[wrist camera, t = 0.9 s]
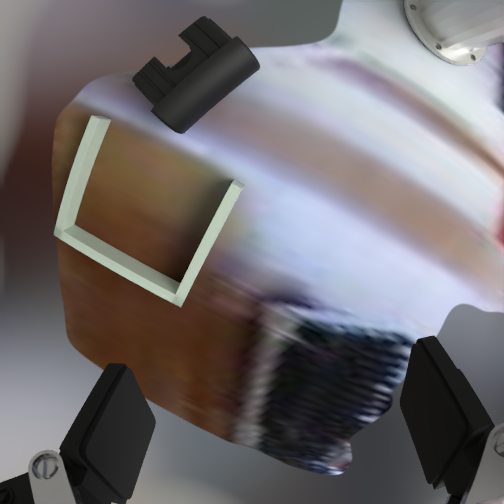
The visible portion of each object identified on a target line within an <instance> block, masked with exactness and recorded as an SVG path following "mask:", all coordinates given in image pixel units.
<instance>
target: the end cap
mask: <svg viewBox="0 0 504 504" xmlns="http://www.w3.org/2000/svg"><path fill="white" fill-rule="evenodd" d="M179 37H181V39H183V40H184V41H185V42H186V43H187V44H188V45H189V46H190V49H191V52H190V53H188V54H187V55H186V56H185V57H184V58H182V59H181V60H180V61H179V62H178V63H177V64H176V65H175V66H173V67H172V68H170V67H167V68H166V67H165V66H164V65H163V64H162V63H161V62H160V61H159V60H158V59H157V58H156V57H153V58H152V59H151V60H150V61H149V62H148V63H147V64H146V65H145V66H144V67H143V68H142V69H141V70H140V71H139V72H138V73H137V74H136V75H135V76H134V77H133V79H132V81H133V82H134V83H135V86H136V87H137V88H138V89H139V90H140V91H141V92H142V93H143V94H144V95H145V96H146V97H147V98H148V99H149V101H150V102H151V103H152V104H153V105H154V106H155V107H154V108H153V109H152V110H151V112H152V113H153V114H154V115H155V116H156V117H157V118H159V119H160V120H161V121H162V122H163V123H164V124H165V125H167V126H168V127H169V128H170V129H172V130H173V131H175V132H177V133H180V134H183V133H185V132H186V131H187V130H188V129H189V128H190V127H191V126H192V125H193V124H195V123H196V122H197V121H198V120H199V119H200V118H201V117H202V116H203V115H204V114H206V113H207V112H208V111H209V110H210V109H211V108H212V107H214V106H215V105H216V104H217V103H218V102H219V101H221V100H222V99H223V98H224V97H225V96H227V95H228V94H229V93H230V92H231V91H233V90H234V89H235V88H236V87H237V86H239V85H240V84H241V83H242V82H244V81H245V80H246V79H247V78H249V77H250V76H251V75H252V74H254V73H255V72H256V71H258V70H259V69H260V64H259V62H258V60H257V59H256V57H255V56H254V54H253V53H252V52H251V51H250V49H249V48H248V47H247V46H246V45H245V44H244V43H243V42H242V41H241V40H240V38H238V37H237V36H236V37H235V38H233V39H232V38H231V37H230V36H228V35H227V34H226V33H225V32H224V31H223V30H222V29H221V28H220V27H219V26H218V25H216V24H215V23H214V22H213V21H212V20H211V19H208V18H206V17H205V16H203V17H201V18H199V19H198V20H197V21H195V22H194V23H193V24H192V25H190V26H189V27H188V28H187V29H186V30H184V31H183V32H182V33H181V34H179Z"/></svg>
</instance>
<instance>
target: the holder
mask: <svg viewBox="0 0 504 504" xmlns="http://www.w3.org/2000/svg"><path fill="white" fill-rule="evenodd" d="M110 122H111V119H108V118H106V117H104V116H93V115H92V116H91V118H90V120H89V123H88V125H87V128H86V130H85V133H84V136H83V138H82V141H81V144H80V146H79V149H78V152H77V155H76V158H75V160H74V163H73V166H72V169H71V173H70V176H69V179H68V182H67V185H66V189H65V192H64V196H63V199H62V203H61V206H60V210H59V214H58V218H57V222H56V226H55V231H54V235H55V236H56V237H58V238H59V239H61V240H63V241H64V242H66V243H67V244H69V245H71V246H72V247H74V248H75V249H77V250H79V251H80V252H82V253H84V254H85V255H87V256H89V257H90V258H92V259H94V260H95V261H97V262H99V263H101V264H102V265H104V266H106V267H107V268H109V269H111V270H113V271H114V272H116V273H118V274H120V275H122V276H123V277H125V278H127V279H129V280H130V281H132V282H134V283H136V284H138V285H140V286H141V287H143V288H145V289H147V290H149V291H151V292H153V293H154V294H156V295H158V296H160V297H162V298H164V299H166V300H168V301H170V302H172V303H174V304H176V305H177V306H179V307H181V306H182V304H183V302H184V300H185V298H186V296H187V294H188V292H189V290H190V288H191V286H192V284H193V282H194V280H195V278H196V276H197V274H198V272H199V270H200V268H201V266H202V265H203V263H204V261H205V259H206V257H207V255H208V253H209V251H210V249H211V247H212V245H213V243H214V241H215V239H216V238H217V236H218V234H219V232H220V230H221V228H222V226H223V224H224V222H225V221H226V219H227V217H228V215H229V213H230V211H231V209H232V207H233V206H234V204H235V202H236V200H237V198H238V196H239V194H240V193H241V191H242V189H243V187H244V184H242V183H240V182H238V181H236V180H234V181H233V182H232V183H231V185H230V187H229V189H228V191H227V193H226V195H225V197H224V199H223V200H222V202H221V204H220V206H219V208H218V210H217V212H216V214H215V216H214V218H213V220H212V222H211V224H210V225H209V227H208V229H207V231H206V233H205V235H204V237H203V239H202V241H201V243H200V245H199V247H198V249H197V251H196V253H195V255H194V257H193V259H192V261H191V263H190V265H189V267H188V269H187V272H186V274H185V276H184V278H183V280H182V282H181V283H179V282H177V281H175V280H173V279H171V278H169V277H167V276H165V275H163V274H162V273H160V272H158V271H156V270H154V269H152V268H150V267H148V266H147V265H145V264H143V263H141V262H139V261H137V260H136V259H134V258H132V257H130V256H128V255H127V254H125V253H123V252H121V251H119V250H118V249H116V248H114V247H112V246H111V245H109V244H107V243H105V242H103V241H102V240H100V239H98V238H97V237H95V236H93V235H91V234H90V233H88V232H86V231H85V230H83V229H81V228H79V227H78V226H76V225H74V223H75V220H76V216H77V213H78V210H79V206H80V203H81V200H82V197H83V193H84V190H85V187H86V184H87V181H88V178H89V175H90V173H91V170H92V167H93V164H94V162H95V159H96V156H97V154H98V151H99V148H100V146H101V143H102V141H103V138H104V136H105V133H106V131H107V129H108V126H109V124H110Z"/></svg>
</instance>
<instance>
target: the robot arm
mask: <svg viewBox="0 0 504 504" xmlns="http://www.w3.org/2000/svg"><path fill="white" fill-rule="evenodd" d="M404 8H405V13H406V16H407V18H408V21H409V23H410V25H411V27H412V29H413V30H414V32H415V33H416V35H417V36H418V38H419V39H420V40H421V41H422V42H423V43H424V45H425V46H426V47H427V48H428V49H429V50H431V51H432V52H433V53H434V54H435V55H437V56H438V57H440V58H441V59H443V60H445V61H447V62H449V63H452V64H455V65H460V66H467V65H472V64H476V63H478V62H479V61H480V60H482V58H483V57H484V56H485V54H486V51H487V47H488V46H492V45H496V44H499V43H503V42H504V0H404ZM400 407H401V410H402V413H403V415H404V418H405V421H406V423H407V426H408V429H409V431H410V434H411V437H412V440H413V442H414V445H415V448H416V451H417V454H418V456H419V459H420V462H421V465H422V468H423V471H424V474H425V477H426V480H427V482H428V483H429V484H433V487H434V490H436V489H438V488H441V487H444V486H446V489H447V492H448V496H447V498H446V500H445V502H444V504H504V423H503V424H499V425H498V426H496V427H495V426H494V424H493V422H492V421H491V419H490V417H489V415H488V413H487V412H486V410H485V408H484V407H483V405H482V403H481V402H480V400H479V398H478V397H477V395H476V394H475V392H474V390H473V388H472V387H471V385H470V384H469V382H468V381H467V379H466V377H465V376H464V374H463V373H462V372H461V371H460V369H457V368H456V366H455V365H454V363H453V362H452V360H451V359H450V357H449V356H448V354H447V353H446V351H445V350H444V348H443V347H442V345H441V344H440V343H439V341H438V339H437V338H436V337H435V336H429V337H425V338H420V339H418V340H417V342H416V344H413V345H412V348H411V353H410V358H409V363H408V368H407V372H406V377H405V381H404V385H403V389H402V393H401V397H400ZM155 424H156V421H155V417H154V415H153V413H152V411H151V409H150V407H149V405H148V403H147V401H146V399H145V397H144V395H143V393H142V391H141V389H140V387H139V385H138V383H137V381H136V379H135V376H134V374H133V372H132V370H131V369H130V368H128V367H127V366H126V365H125V364H119V363H109V364H108V365H107V366H106V368H105V370H104V371H103V373H102V374H101V376H100V378H99V379H98V381H97V383H96V385H95V386H94V388H93V389H92V391H91V393H90V395H89V396H88V398H87V400H86V402H85V403H84V405H83V407H82V408H81V410H80V412H79V413H78V415H77V417H76V419H75V421H74V423H73V424H72V426H71V428H70V430H69V431H68V433H67V435H66V437H65V439H64V440H63V442H62V444H61V446H60V448H59V449H60V450H61V451H60V453H59V454H58V453H57V452H55V451H52V450H45V451H41V452H39V453H37V454H36V455H35V456H34V457H33V458H32V459H31V461H30V463H29V466H28V472H27V473H25V474H22V475H20V476H17V477H14V478H12V479H9V480H6V481H4V482H1V483H0V504H111V502H113V503H117V504H126V501H127V499H130V498H131V496H132V494H133V491H134V488H135V485H136V482H137V478H138V475H139V473H140V470H141V466H142V463H143V460H144V457H145V455H146V451H147V449H148V446H149V443H150V440H151V437H152V434H153V431H154V428H155Z"/></svg>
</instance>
